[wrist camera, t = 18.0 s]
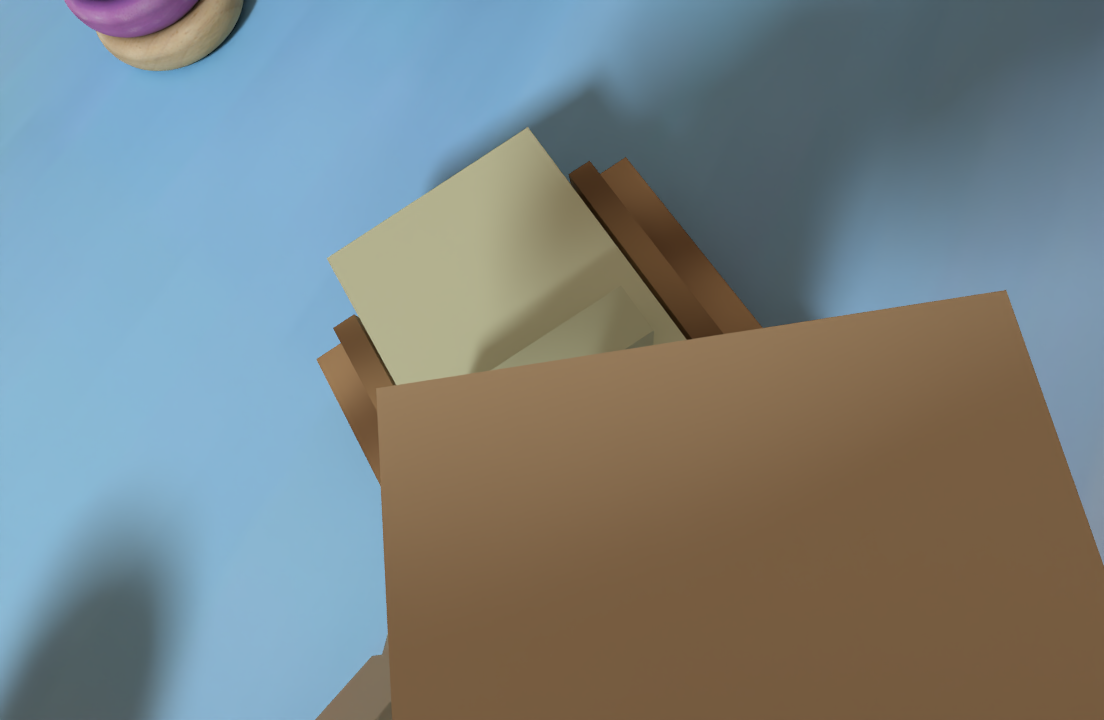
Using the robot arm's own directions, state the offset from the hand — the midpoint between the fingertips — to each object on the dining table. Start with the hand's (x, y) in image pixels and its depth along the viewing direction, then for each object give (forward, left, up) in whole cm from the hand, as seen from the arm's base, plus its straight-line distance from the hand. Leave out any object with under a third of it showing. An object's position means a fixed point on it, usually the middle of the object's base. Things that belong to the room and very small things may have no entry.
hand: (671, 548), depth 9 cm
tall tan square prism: (0, 0, -5) cm, 5 cm away
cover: (+9, 0, -10) cm, 13 cm away
